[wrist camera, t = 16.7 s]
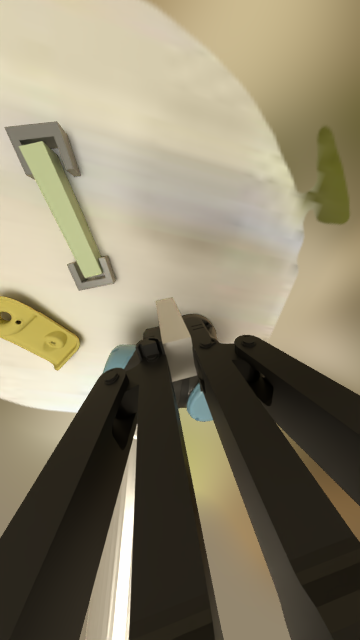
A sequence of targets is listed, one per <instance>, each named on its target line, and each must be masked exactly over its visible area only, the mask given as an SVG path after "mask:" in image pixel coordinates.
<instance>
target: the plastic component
mask: <svg viewBox="0 0 360 640" xmlns="http://www.w3.org/2000/svg"><path fill="white" fill-rule="evenodd" d="M1 312H7V313H9V314H10V315H11V320H10V321H7V320H4V319H2V318H1ZM17 320H20V321H21V324H17V323H16V321H17ZM0 337H1V338H3V339H5V340H7V341H10V342H12V343H14V344H16V345H18V346H20V347H22V348H24V349H26V350H28V351H30V352H32V353H34V354H36V355H38V356H40V357H42V358H44V359H46V360H47V361H49V362H51V363H52V364H53V365H54V368H55V370H57V371H58V370H59V369H60V368H61V367H62V366H63V365H64V364H65V363H66V362H67V361H68V360H69V359H70V357H71V356H72V355H73V354H74V353H75V352H76V351H77V350H78V348H79V346H80V342H79V338H78V337H77V336H76V335H75V334H73V333H72V332H70V331H69V330H67V329H66V328H64V327H63V326H61V325H59V324H58V323H56V322H55V321H53V320H52V319H50V318H49V317H47V316H45V315H44V314H42V313H41V312H37V311H36V310H34V309H33V308H31V307H29V306H27V305H25V304H23V303H21V302H19V301H16V300H14V299H11V298H8V297H2V296H0ZM54 342H55V343H54Z"/></svg>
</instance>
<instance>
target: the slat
mask: <svg viewBox="0 0 360 640" xmlns="http://www.w3.org/2000/svg"><path fill="white" fill-rule="evenodd" d="M19 148H20V150H21V152H22V154H23V156H24V158H25V160H26V162H27V164H28V166H29V168H30V170H31V172H32V174H33V176H34V178H35V180H36V182H37V184H38V186H39V188H40V190H41V192H42V194H43V196H44V198H45V200H46V202H47V204H48V206H49V208H50V210H51V212H52V214H53V216H54V218H55V220H56V222H57V224H58V226H59V228H60V230H61V232H62V234H63V236H64V238H65V240H66V242H67V244H68V246H69V248H70V250H71V252H72V254H73V255H74V257H75V259H76V261H77V263H78V265H79V267H80V269H81V271H82V273H83V275H84V277H85V278H88V277H91V276H95V275H99V274H102V273H103V270H102V267H101V264H100V261H99V258H101V255H100V253H99V251H98V248H97V246H96V244H95V241H94V239H93V237H92V235H91V232H90V230H89V228H88V225H87V223H86V221H85V218H84V216H83V214H82V211H81V209H80V207H79V204H78V202H77V200H76V197H75V195H74V193H73V191H72V188H71V186H70V184H69V181H68V179H67V177H66V174H65V172H64V170H63V167H62V165H61V163H60V160H59V158H58V156H57V154H56V153H54V152H53V151H52V150H51V149H50V148H49V147H48V146H47V145H46V144H45V143H44V142H43V141H41V142H36V143H32V144H27V145H23V146H19Z"/></svg>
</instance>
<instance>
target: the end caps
mask: <svg viewBox="0 0 360 640" xmlns="http://www.w3.org/2000/svg"><path fill="white" fill-rule="evenodd" d="M5 130H6V132H7V134H8V136H9V138H10V141H11V143H12V145H13V147H14V149H15V152H16V154H17V156H18V158H19V160H20V163H21V165H22V167H23V169H24V171H25V174H26V175H27V176H29V177H31V178H33V179H34V180H35V178H34V176H33V174H32V172H31V170H30V168H29V166H28V164H27V162H26V160H25V158H24V156H23V154H22V152H21V150H20V148H19V146H23V145H27V144H32V143H36V142H41V141H43V142H44V143H45V144H46V145H47V146H48V147H49V148H50V149H53V148H58V149H59V152H60V155H61V157H62V160H63V163H64V166H65V168H66V170H67V171H68V172H69V173H70V174H72V175H73V176H74V177H75V176H81V175H80V172H79V169H78V166H77V163H76V160H75V157H74V154H73V151H72V148H71V145H70V142H69V139H68V137H67V134H66V133H65V131H64V130H63V129H62V127H61V126H60V125H59V123H58V122H57V121H56V122H47V123H38V124H29V125H20V126H11V127H5ZM99 261H100V264H101V267H102V270H103V272H104V275H105V276H101V277H95V278H90V279H86V278H85V277H84V275H83V273H82V271H81V269H80V267H79V265H78V263H77V262H73V263H70V264H67V266H68V268H69V270H70V272H71V275H72V277H73V279H74V281H75V283H76V286H77V288H78V290H79V291H80V290H85V289H90V288H95V287H100V286H105V285H110V284H114V282H115V281H116V278H115V276H114V273H113V270H112V267H111V264H110V261H109V258H108V256H104V257H101V258H99Z"/></svg>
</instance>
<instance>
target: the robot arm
mask: <svg viewBox="0 0 360 640" xmlns="http://www.w3.org/2000/svg"><path fill="white" fill-rule="evenodd" d="M156 308H157V314H158V320H159V327H155V328H151V329H146V331H145V332H144V334H143V340H141V341H139V342H138V344H137V345H119V346H117V347H115V348H114V349H113V350H112V352H111V353H110V355H109V357H108V360H107V362H106V365H105V368H104V370H103V374H102V375H101V376H100V377H99V379H98V380H97V382H96V383H95V385H94V387H93V388H92V390H91V391H90V393H89V395H88V396H87V398H86V400H85V401H84V403H83V404H82V406H81V408H80V409H79V411H78V413H77V414H76V416H75V418H74V419H73V421H72V422H71V424H70V426H69V427H68V429H67V431H66V432H65V434H64V436H63V437H62V439H61V440H60V442H59V444H58V445H57V447H56V448H55V450H54V452H53V453H52V455H51V457H50V458H49V460H48V461H47V463H46V465H45V466H44V468H43V470H42V471H41V473H40V474H39V476H38V478H37V479H36V481H35V483H34V484H33V486H32V488H31V489H30V491H29V492H28V494H27V496H26V497H25V499H24V501H23V502H22V504H21V506H20V507H19V509H18V510H17V512H16V514H15V515H14V517H13V518H12V520H11V522H10V523H9V525H8V527H7V528H6V530H5V531H4V533H3V535H2V536H1V538H0V640H79V638H80V634H81V630H82V627H83V623H84V619H85V615H86V612H87V608H88V605H89V601H90V606H89V613H88V622H87V629H86V637H85V640H224V639H223V634H222V630H221V625H220V620H219V616H218V611H217V606H216V600H215V595H214V590H213V585H212V580H211V575H210V569H209V564H208V559H207V554H206V549H205V544H204V539H203V534H202V529H201V524H200V519H199V513H198V508H197V504H196V498H195V493H194V488H193V483H192V478H191V473H190V467H189V462H188V457H187V453H186V447H185V442H184V437H183V432H182V427H181V421H180V416H179V411H178V408H187V411H188V413H189V414H190V416H191V417H192V418H194V419H195V420H197V421H204V422H205V421H211V420H213V421H214V423H215V426H216V429H217V431H218V434H219V437H220V440H221V442H222V445H223V448H224V450H225V453H226V456H227V458H228V461H229V464H230V466H231V469H232V472H233V475H234V477H235V480H236V483H237V485H238V487H239V491H240V493H241V496H242V499H243V501H244V504H245V507H246V509H247V512H248V515H249V518H250V520H251V523H252V525H253V528H254V531H255V534H256V536H257V539H258V542H259V544H260V547H261V550H262V553H263V555H264V558H265V561H266V563H267V566H268V569H269V571H270V574H271V577H272V580H273V582H274V585H275V588H276V591H277V593H278V597H279V599H280V603H281V606H282V610H283V614H284V618H285V621H286V625H287V628H288V631H289V634H290V637H291V640H360V542H359V541H358V539H357V538H356V537H355V535H354V534H353V533H352V531H351V530H350V528H349V527H348V526H347V524H346V523H345V521H344V520H343V518H342V517H341V515H340V514H339V513H338V511H337V510H336V508H335V507H334V505H333V504H332V503H331V501H330V500H329V498H328V497H327V495H326V494H325V493H324V491H323V490H322V488H321V487H320V486H319V484H318V483H317V481H316V480H315V478H314V477H313V476H312V474H311V473H310V471H309V470H308V468H307V467H306V466H305V464H304V463H303V461H302V460H301V459H300V457H299V456H298V454H297V453H296V451H295V450H294V449H293V447H292V446H291V444H290V443H289V442H288V440H287V439H286V437H285V436H284V435H283V433H282V432H281V430H280V429H279V427H278V426H277V424H278V425H279V426H280V427H281V428H282V429H283V430H284V431H285V432H286V433H287V434H288V435H289V436H290V437H291V438H292V439H293V440H294V441H295V442H296V443H297V444H298V445H299V446H300V447H301V448H302V449H303V450H304V451H305V452H306V453H307V454H308V455H309V456H310V457H311V458H312V459H313V460H314V461H315V462H316V463H317V464H318V465H319V466H320V467H321V468H322V469H323V470H324V471H325V472H326V473H327V474H328V475H329V476H330V477H331V478H332V479H333V480H334V481H335V482H336V483H337V484H338V485H339V486H340V487H341V488H342V489H343V490H344V491H345V492H346V493H347V494H348V495H349V496H350V497H351V498H352V499H353V500H354V501H355V502H356V503H357V504H358V505H359V506H360V395H358V394H356V393H354V392H353V391H351V390H349V389H347V388H346V387H344V386H342V385H340V384H339V383H337V382H335V381H333V380H331V379H330V378H328V377H326V376H325V375H323V374H321V373H319V372H318V371H316V370H314V369H312V368H311V367H309V366H307V365H305V364H304V363H302V362H300V361H298V360H297V359H294V358H293V357H291V356H289V355H287V354H286V353H284V352H283V351H281V350H279V349H277V348H275V347H274V346H272V345H270V344H268V343H267V342H265V341H263V340H261V339H260V338H258V337H255V336H251V335H242V336H239V337H237V338H236V339H235V341H234V343H235V344H221V343H219V342H218V341H217V336H216V331H215V328H214V326H213V325H212V324H211V322H210V321H209V320H208V319H207V318H205V317H203V316H201V315H197V314H188V315H184V316H181V314H180V312H179V310H178V308H177V306H176V303H175V301H174V299H173V297H171V298H166V299H162V300H157V301H156ZM274 421H275V422H276V423H277V424H276V423H275V422H274ZM90 597H91V598H90Z"/></svg>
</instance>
